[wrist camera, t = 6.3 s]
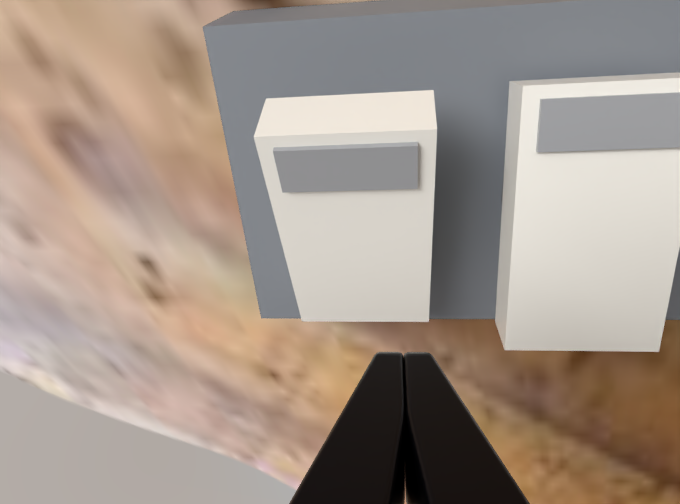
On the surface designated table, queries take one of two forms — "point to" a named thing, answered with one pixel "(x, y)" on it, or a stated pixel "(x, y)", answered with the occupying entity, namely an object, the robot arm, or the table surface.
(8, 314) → the table surface
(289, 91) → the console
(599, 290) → the block
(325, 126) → the rocker
